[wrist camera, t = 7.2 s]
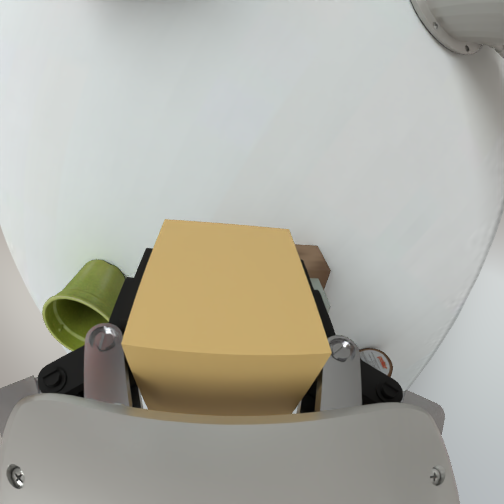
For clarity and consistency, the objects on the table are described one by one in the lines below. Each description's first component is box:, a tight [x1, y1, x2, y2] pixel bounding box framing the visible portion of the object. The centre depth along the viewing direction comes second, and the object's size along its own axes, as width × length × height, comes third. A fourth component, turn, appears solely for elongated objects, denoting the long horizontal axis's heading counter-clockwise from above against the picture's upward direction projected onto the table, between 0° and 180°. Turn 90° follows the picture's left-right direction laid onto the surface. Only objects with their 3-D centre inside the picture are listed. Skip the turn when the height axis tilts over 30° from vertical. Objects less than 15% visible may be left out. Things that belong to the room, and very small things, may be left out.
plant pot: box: [42, 260, 125, 351], centre depth 26 cm, size 9×9×9 cm
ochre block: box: [121, 219, 332, 416], centre depth 10 cm, size 5×5×6 cm
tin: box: [359, 348, 393, 377], centre depth 40 cm, size 15×3×8 cm, turn 96°
